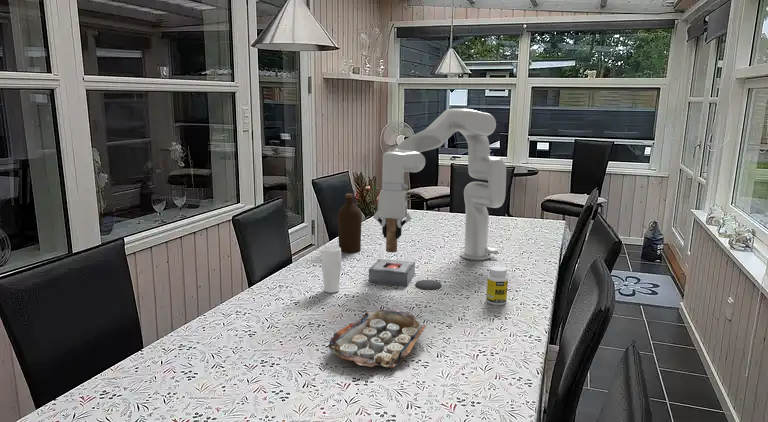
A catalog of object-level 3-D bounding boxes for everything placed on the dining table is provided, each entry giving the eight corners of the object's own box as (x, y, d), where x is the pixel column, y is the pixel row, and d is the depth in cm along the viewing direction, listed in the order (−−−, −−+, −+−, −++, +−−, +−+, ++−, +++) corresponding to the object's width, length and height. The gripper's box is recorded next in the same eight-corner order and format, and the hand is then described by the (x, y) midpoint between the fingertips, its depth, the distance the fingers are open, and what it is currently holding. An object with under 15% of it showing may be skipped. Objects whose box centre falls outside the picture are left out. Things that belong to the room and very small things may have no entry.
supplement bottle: (494, 306, 167) (496, 272, 165) (482, 300, 172) (483, 267, 170) (510, 303, 170) (512, 269, 167) (497, 297, 175) (499, 264, 173)
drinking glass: (345, 289, 182) (344, 247, 179) (335, 295, 176) (334, 252, 173) (328, 286, 185) (327, 244, 182) (317, 292, 179) (317, 249, 176)
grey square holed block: (414, 274, 198) (415, 261, 197) (407, 286, 185) (407, 272, 184) (378, 271, 202) (378, 258, 201) (368, 283, 189) (368, 269, 188)
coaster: (442, 282, 189) (442, 280, 189) (439, 290, 181) (439, 289, 181) (418, 280, 192) (418, 278, 192) (413, 288, 183) (413, 286, 183)
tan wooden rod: (398, 250, 192) (399, 206, 190) (395, 252, 189) (396, 208, 186) (387, 249, 193) (388, 206, 191) (384, 251, 190) (385, 208, 187)
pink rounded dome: (399, 272, 195) (399, 265, 194) (396, 275, 190) (397, 269, 190) (388, 271, 196) (388, 265, 195) (385, 274, 192) (385, 268, 191)
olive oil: (346, 255, 224) (346, 196, 219) (332, 249, 232) (332, 193, 227) (366, 250, 231) (366, 194, 226) (352, 245, 239) (352, 191, 234)
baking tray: (398, 385, 121) (399, 363, 120) (314, 367, 128) (314, 346, 127) (434, 332, 148) (434, 314, 147) (363, 320, 156) (363, 303, 155)
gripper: (418, 186, 188) (416, 236, 192) (372, 184, 192) (372, 233, 196) (414, 189, 181) (412, 241, 185) (367, 187, 185) (366, 238, 189)
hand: (391, 236), depth 190 cm, fingers closed on tan wooden rod, 4 cm apart
